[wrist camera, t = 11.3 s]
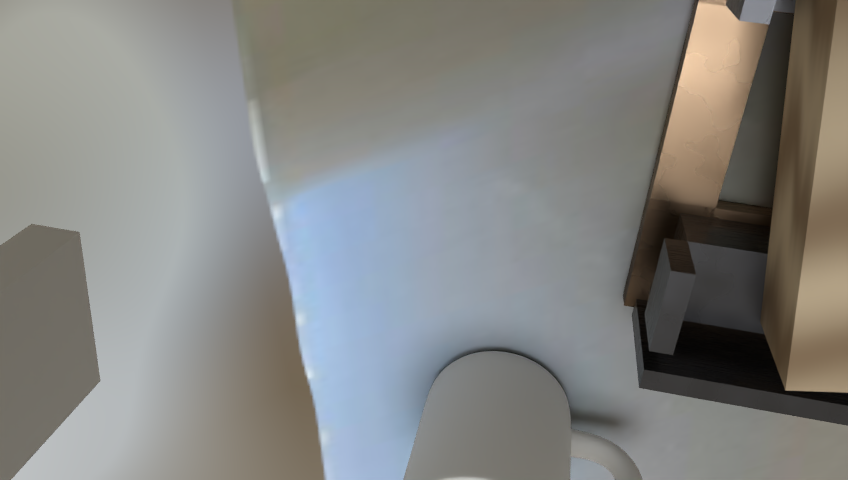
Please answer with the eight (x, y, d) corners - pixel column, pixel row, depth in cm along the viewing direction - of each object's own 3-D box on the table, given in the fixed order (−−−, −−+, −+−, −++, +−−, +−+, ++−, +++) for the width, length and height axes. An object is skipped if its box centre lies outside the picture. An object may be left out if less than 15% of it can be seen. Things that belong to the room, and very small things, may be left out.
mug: (650, 366, 42) (668, 510, 33) (625, 480, 46) (635, 637, 37) (432, 335, 43) (392, 464, 34) (425, 447, 47) (388, 589, 38)
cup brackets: (737, -174, 30) (776, -178, 24) (1100, -140, 28) (1242, -136, 22) (621, 303, 40) (627, 385, 34) (883, 347, 39) (939, 442, 33)
